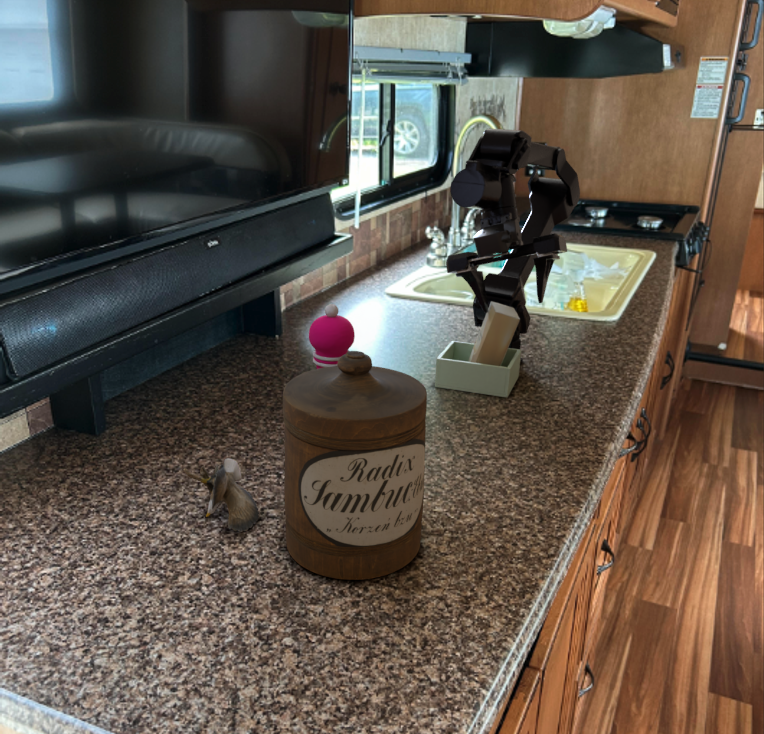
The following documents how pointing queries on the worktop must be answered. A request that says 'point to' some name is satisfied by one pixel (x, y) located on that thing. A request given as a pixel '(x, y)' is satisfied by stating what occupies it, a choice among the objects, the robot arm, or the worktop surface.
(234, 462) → the eagle figurine
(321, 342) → the pepper mill
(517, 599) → the worktop surface
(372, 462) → the wooden container
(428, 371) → the worktop surface
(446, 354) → the bin
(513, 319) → the cosmetic box
